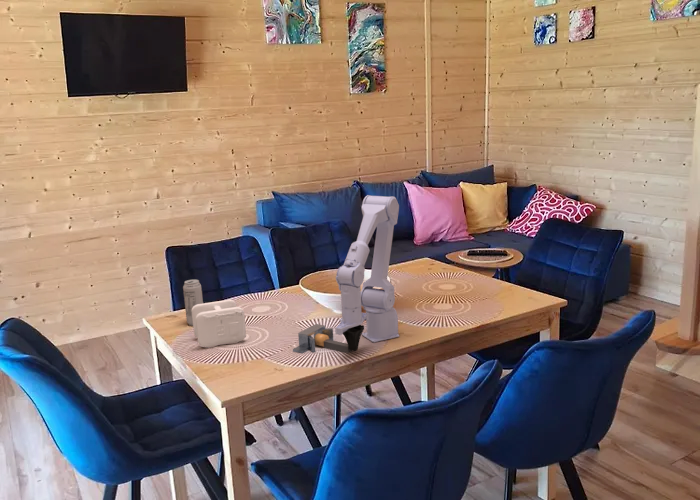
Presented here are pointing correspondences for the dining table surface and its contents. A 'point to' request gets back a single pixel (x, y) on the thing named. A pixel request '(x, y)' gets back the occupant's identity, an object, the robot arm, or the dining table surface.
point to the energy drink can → (192, 297)
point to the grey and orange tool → (331, 343)
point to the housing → (307, 340)
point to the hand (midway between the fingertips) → (353, 349)
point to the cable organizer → (218, 323)
